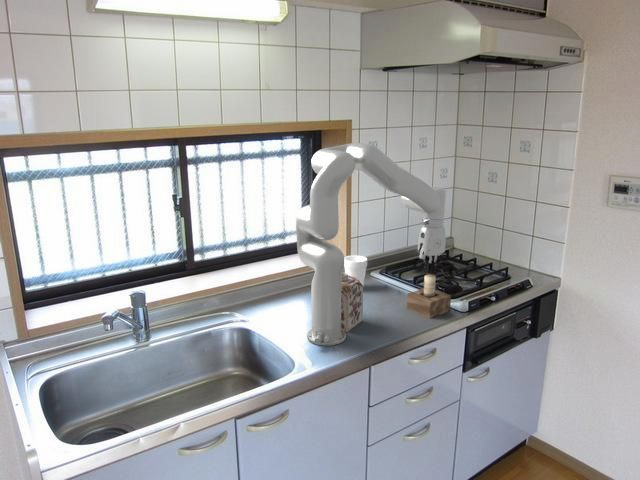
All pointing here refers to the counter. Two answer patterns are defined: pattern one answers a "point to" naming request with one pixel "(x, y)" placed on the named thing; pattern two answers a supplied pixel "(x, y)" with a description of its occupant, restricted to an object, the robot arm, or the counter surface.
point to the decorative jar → (351, 302)
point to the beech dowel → (429, 285)
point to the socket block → (428, 303)
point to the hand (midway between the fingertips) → (429, 272)
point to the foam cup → (356, 267)
